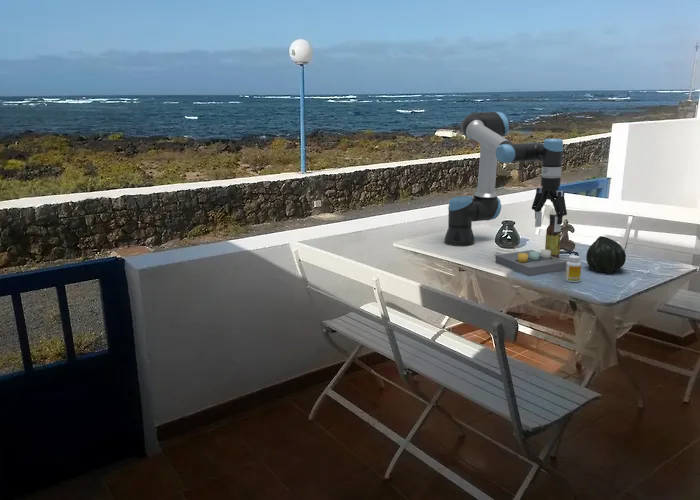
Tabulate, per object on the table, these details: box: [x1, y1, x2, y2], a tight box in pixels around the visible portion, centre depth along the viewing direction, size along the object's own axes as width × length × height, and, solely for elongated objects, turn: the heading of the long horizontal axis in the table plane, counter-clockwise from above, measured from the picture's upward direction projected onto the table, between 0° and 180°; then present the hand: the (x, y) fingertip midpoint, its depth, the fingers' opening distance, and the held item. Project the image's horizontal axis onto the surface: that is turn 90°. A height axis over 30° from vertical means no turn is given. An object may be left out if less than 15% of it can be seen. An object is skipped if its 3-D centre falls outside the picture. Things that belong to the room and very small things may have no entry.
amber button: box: [518, 253, 528, 263], centre depth 222 cm, size 4×4×4 cm
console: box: [494, 249, 569, 277], centre depth 226 cm, size 22×20×4 cm
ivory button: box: [540, 249, 551, 260], centre depth 226 cm, size 4×4×4 cm
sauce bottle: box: [544, 213, 562, 259], centre depth 237 cm, size 7×6×20 cm
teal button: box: [529, 250, 541, 262], centre depth 224 cm, size 4×4×4 cm
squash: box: [585, 235, 627, 274], centre depth 217 cm, size 14×15×15 cm
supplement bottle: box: [564, 254, 582, 283], centre depth 205 cm, size 5×5×10 cm
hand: (547, 229), depth 223 cm, fingers open, 11 cm apart
